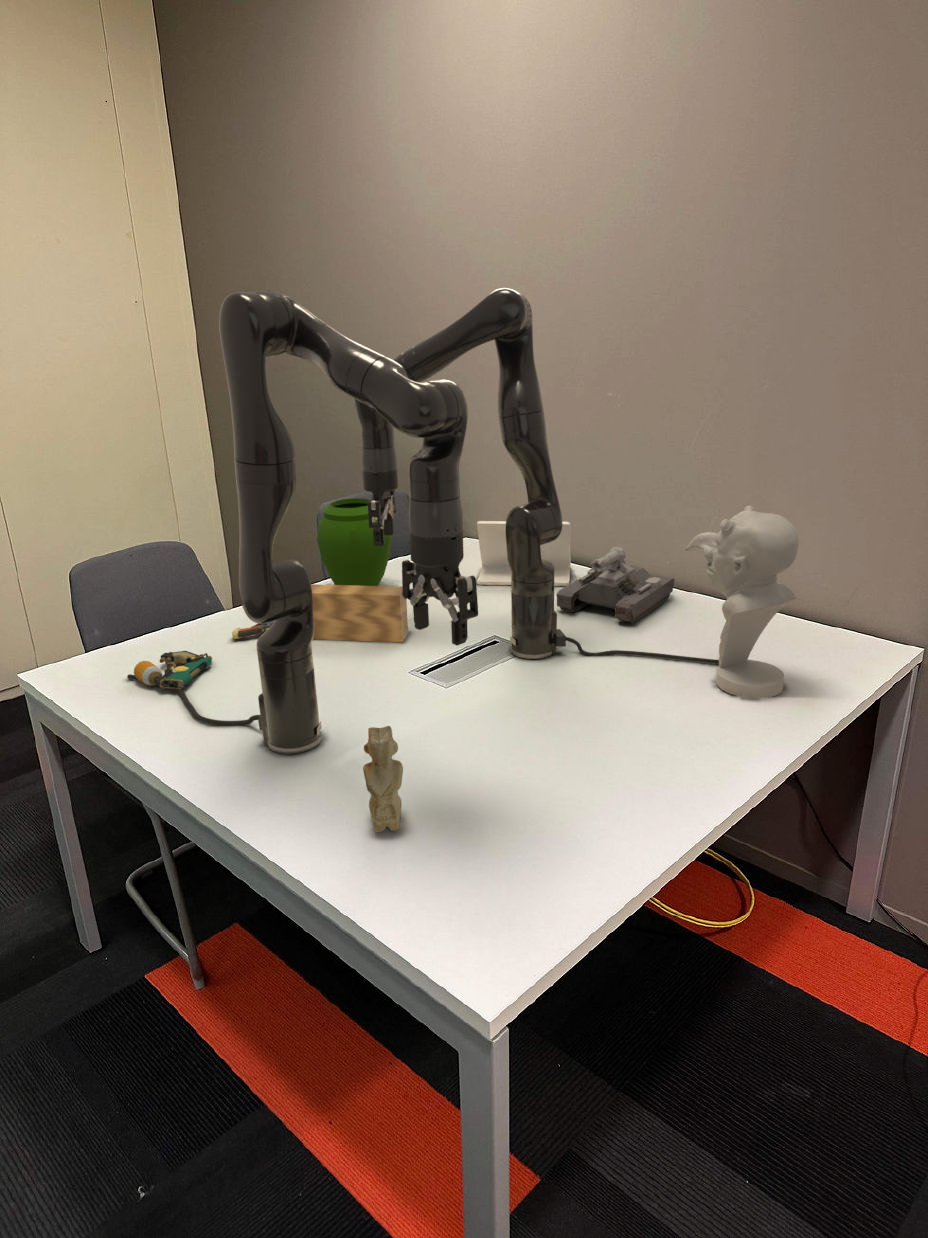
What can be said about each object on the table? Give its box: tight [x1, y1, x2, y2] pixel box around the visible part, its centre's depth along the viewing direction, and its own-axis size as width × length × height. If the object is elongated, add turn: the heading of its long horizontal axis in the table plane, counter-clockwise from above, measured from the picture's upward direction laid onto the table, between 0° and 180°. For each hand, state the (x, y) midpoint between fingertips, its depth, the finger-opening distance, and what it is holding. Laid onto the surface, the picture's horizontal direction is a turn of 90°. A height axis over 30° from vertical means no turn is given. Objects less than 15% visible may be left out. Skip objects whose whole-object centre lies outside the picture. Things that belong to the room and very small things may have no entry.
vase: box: [316, 497, 392, 586], centre depth 225 cm, size 20×20×24 cm
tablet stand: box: [476, 520, 572, 587], centre depth 236 cm, size 18×25×17 cm
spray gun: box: [133, 650, 213, 690], centre depth 180 cm, size 4×17×15 cm
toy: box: [556, 546, 676, 624], centre depth 212 cm, size 25×20×15 cm
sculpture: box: [362, 725, 404, 833], centre depth 125 cm, size 6×7×15 cm
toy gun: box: [231, 620, 275, 640], centre depth 206 cm, size 3×19×10 cm
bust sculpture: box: [684, 505, 799, 699], centre depth 167 cm, size 16×24×35 cm
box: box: [311, 583, 409, 643], centre depth 198 cm, size 28×6×11 cm, turn 81°
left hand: (440, 635), depth 125 cm, fingers open, 8 cm apart
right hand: (384, 540), depth 190 cm, fingers open, 8 cm apart
